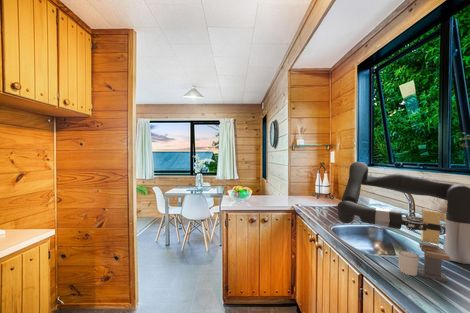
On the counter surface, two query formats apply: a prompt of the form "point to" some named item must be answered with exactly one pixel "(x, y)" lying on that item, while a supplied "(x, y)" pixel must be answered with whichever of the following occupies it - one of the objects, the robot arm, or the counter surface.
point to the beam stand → (432, 269)
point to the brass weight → (431, 218)
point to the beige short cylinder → (408, 262)
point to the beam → (434, 251)
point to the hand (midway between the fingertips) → (438, 226)
